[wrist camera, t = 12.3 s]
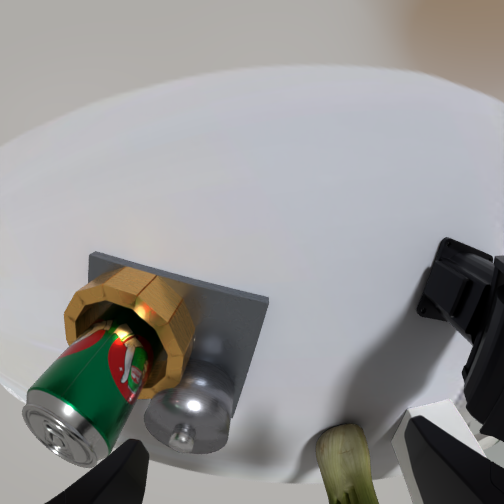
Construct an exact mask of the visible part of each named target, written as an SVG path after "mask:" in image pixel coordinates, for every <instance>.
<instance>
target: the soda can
mask: <svg viewBox="0 0 504 504" xmlns="http://www.w3.org/2000/svg"><path fill="white" fill-rule="evenodd" d="M163 349H164V346H163V344H162V342H161V340H160V338H159V336H158V334H157V332H156V330H155V329H154V328H153V327H152V326H151V325H149V324H148V323H147V322H146V321H145V320H144V319H143V318H141V317H140V316H139V315H138V314H137V313H136V312H135V311H134V310H133V309H131V308H128V307H125V306H122V305H119V304H116V303H113V304H112V305H111V306H110V307H108V308H107V309H106V310H105V311H104V312H103V313H102V314H101V315H100V316H99V317H98V318H97V319H96V320H95V321H94V322H93V323H92V324H91V325H90V326H89V327H88V328H87V329H86V330H85V331H84V332H83V333H82V334H81V335H80V336H79V337H78V338H77V339H76V340H75V341H74V342H73V343H72V344H71V345H70V346H69V347H68V348H67V349H66V350H65V351H64V352H63V353H62V354H61V355H60V356H59V357H58V358H57V360H56V361H55V362H54V363H53V364H52V365H51V366H50V367H49V368H48V369H47V370H46V371H45V372H44V373H43V374H42V375H41V377H40V378H39V379H38V380H37V381H36V382H35V383H34V384H33V385H32V386H31V388H30V389H29V390H28V392H27V402H26V405H25V406H24V407H23V410H22V415H23V418H24V421H25V423H26V425H27V426H28V428H29V429H30V430H31V432H32V433H33V434H34V435H35V436H36V438H37V439H38V440H39V441H40V442H42V443H43V444H44V445H45V446H46V447H47V448H48V449H49V450H51V451H52V452H54V453H55V454H56V455H58V456H59V457H61V458H62V459H64V460H66V461H68V462H70V463H72V464H74V465H77V466H80V467H84V468H92V467H94V466H95V465H96V464H97V461H98V460H100V459H103V458H106V457H107V456H109V454H110V453H111V451H112V449H113V447H114V445H115V443H116V441H117V439H118V437H119V435H120V433H121V431H122V429H123V427H124V425H125V423H126V421H127V419H128V417H129V415H130V413H131V411H132V409H133V407H134V405H135V403H136V401H137V399H138V397H139V395H140V393H141V391H142V389H143V387H144V385H145V383H146V381H147V379H148V378H149V376H150V374H151V372H152V370H153V368H154V366H155V364H156V362H157V360H158V358H159V357H160V355H161V353H162V351H163Z"/></svg>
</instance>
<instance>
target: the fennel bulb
mask: <svg viewBox="0 0 504 504" xmlns="http://www.w3.org/2000/svg"><path fill="white" fill-rule="evenodd" d="M316 458H317V462H318V465H319V468H320V472H321V475H322V478H323V481H324V485H325V488H326V492H327V495H328V499H329V504H379V502H378V499H377V496H376V494H375V490H374V486H373V482H372V477H371V466H370V455H369V449H368V445H367V441H366V437H365V435H364V432H363V429H362V428H361V427H360V426H359V425H356V424H351V423H349V424H344V425H339V426H336V427H334V428H331V429H329V430H327V431H326V432H324V433H323V434H322V435H321V437H320V438H319V439H318V441H317V444H316Z"/></svg>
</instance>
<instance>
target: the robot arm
mask: <svg viewBox="0 0 504 504" xmlns="http://www.w3.org/2000/svg"><path fill="white" fill-rule="evenodd" d="M448 242H449V244H448V246H446V245H447V243H448ZM488 259H489V260H488ZM423 308H424V310H423V311H421V310H422V309H423ZM416 311H417V313H418V314H419V316H422V317H427V318H432V319H437V320H442V321H448V322H449V323H450V324H451V325H452V326H453V327H454V328H455V329H456V330H457V331H458V332H459V333H460V334H461V335H462V336H463V337H464V338H465V339H467V340H468V341H469V342H470V344H471V345H472V346H473V347H472V350H471V353H470V355H469V358H468V361H467V363H466V365H465V366H464V368H463V370H462V376H463V379H464V383H465V384H464V394H465V398H466V401H467V404H466V409H467V410H468V412H469V413H470V414H471V416H472V417H473V418H474V419H476V420H477V421H478V422H479V423H481V424H482V425H483V426H482V428H481V429H480V433H481V434H484V435H488V436H493V437H495V438H497V439H499V440H501V441H503V442H504V256H495V259H494V263H493V257H492V256H491V255H489V254H487V253H484V252H482V251H480V250H477V249H475V248H473V247H470V246H468V245H466V244H463V243H461V242H458V241H456V240H453V239H451V238H448V237H446V238H444V239H443V240H442V243H441V246H440V249H439V252H438V255H437V258H436V261H435V263H434V266H433V269H432V271H431V274H430V277H429V279H428V282H427V285H426V287H425V290H424V292H423V295H422V297H421V300H420V302H419V304H418V307H417V310H416ZM404 438H405V442H406V446H407V450H408V455H409V459H410V463H411V468H412V472H413V475H414V478H415V481H416V483H417V486H418V489H419V492H420V495H421V498H422V501H423V504H504V468H502V467H500V466H499V465H497V464H495V463H494V462H491V461H490V460H489V459H487V458H486V457H484V456H483V455H481V454H479V453H478V452H476V451H475V450H473V449H472V448H470V447H469V446H467V445H466V444H464V443H462V442H461V441H459V440H458V439H456V438H455V437H453V436H452V435H450V434H449V433H447V432H446V431H444V430H443V429H441V428H440V427H438V426H437V425H435V424H434V423H432V422H431V421H429V420H428V419H427V418H425V417H424V416H422V415H418V416H415V417H412V418H410V419H409V421H408V424H407V427H406V429H405V432H404ZM148 463H149V454H148V451H147V450H146V448H145V447H144V445H143V444H142V442H141V441H140V440H136V439H128V440H127V441H125V442H124V443H123V444H122V445H121V446H119V447H118V448H117V449H116V450H115V451H113V452H112V453H111V454H110V455H109V456H107V457H106V458H105V459H104V460H102V461H101V462H100V463H99V464H98V465H96V466H95V467H94V468H93V469H91V470H90V471H89V472H88V473H86V474H85V475H84V476H82V477H81V478H80V479H78V480H77V481H76V482H75V483H73V484H72V485H71V486H69V487H68V488H67V489H65V491H63V492H61V493H60V494H58V495H57V496H56V497H54V498H53V499H51V500H50V501H48V502H47V503H45V504H142V501H143V497H144V492H145V486H146V479H147V470H148Z"/></svg>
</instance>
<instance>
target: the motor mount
mask: <svg viewBox="0 0 504 504" xmlns="http://www.w3.org/2000/svg"><path fill="white" fill-rule="evenodd" d="M113 303H116V304H119V305H122V306H125V307H128V308H131V309H133V310H134V311H135V312H136V313H137V314H138V315H139V316H140V317H141V318H143V319H144V320H145V321H146V322H147V323H148V324H149V325H151V326H152V327H153V328H154V329H155V330H156V332H157V334H158V336H159V338H160V340H161V342H162V344H163V346H164V349H163V351H162V353H161V355H160V357H159V358H158V360H157V362H156V364H155V366H154V368H153V370H152V372H151V374H150V376H149V378H148V379H147V381H146V383H145V385H144V387H143V389H142V391H141V393H140V395H139V397H138V399H151V402H150V404H149V406H148V408H147V410H146V412H145V415H144V422H145V425H146V427H147V429H148V430H149V432H150V433H151V434H152V435H153V436H154V437H155V438H156V439H157V440H159V441H160V442H162V443H163V444H165V445H167V446H169V447H171V448H172V449H173V450H175V451H177V452H181V453H193V454H206V453H212V452H215V451H217V450H219V449H221V448H222V447H224V446H225V444H226V443H227V440H228V435H229V428H230V420H231V418H233V416H234V413H235V410H236V407H237V403H238V400H239V397H240V394H241V391H242V388H243V385H244V382H245V379H246V376H247V373H248V370H249V366H250V363H251V360H252V357H253V354H254V351H255V347H256V344H257V341H258V338H259V334H260V331H261V328H262V325H263V321H264V318H265V315H266V311H267V308H268V305H269V297H265V296H261V295H257V294H252V293H248V292H244V291H240V290H236V289H232V288H228V287H224V286H220V285H216V284H212V283H208V282H204V281H200V280H196V279H192V278H189V277H185V276H181V275H177V274H174V273H170V272H166V271H162V270H159V269H155V268H152V267H148V266H144V265H141V264H137V263H134V262H130V261H127V260H124V259H120V258H117V257H113V256H110V255H107V254H103V253H100V252H97V251H95V252H93V253H92V254H90V255H89V270H88V284H87V285H85V286H84V287H82V288H81V289H80V290H78V291H77V292H76V293H75V294H74V296H73V298H72V300H71V301H70V303H69V305H68V307H67V309H66V310H65V312H64V313H65V314H64V321H65V331H66V340H67V343H68V344H69V346H70V345H71V344H72V343H73V342H74V341H75V340H76V339H77V338H78V337H79V336H80V335H81V334H82V333H83V332H84V331H85V330H86V329H87V328H88V327H89V326H90V325H91V324H92V323H93V322H94V321H95V320H96V319H97V318H98V317H99V316H100V315H101V314H102V313H103V312H104V311H105V310H106V309H107V308H108V307H110V306H111V305H112V304H113Z"/></svg>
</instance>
